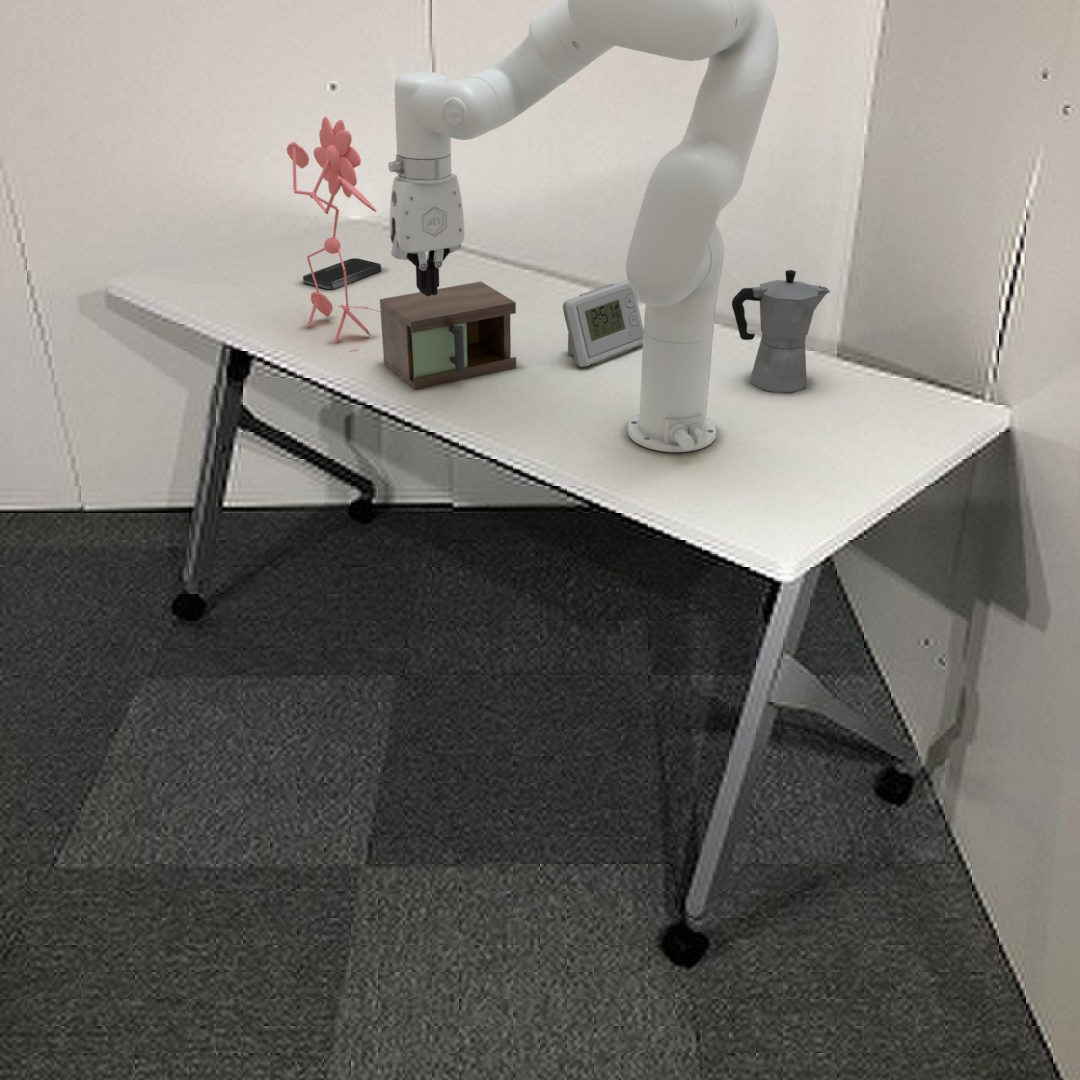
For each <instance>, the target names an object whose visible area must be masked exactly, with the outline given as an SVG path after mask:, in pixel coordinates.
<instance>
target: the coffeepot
mask: <svg viewBox="0 0 1080 1080" xmlns="http://www.w3.org/2000/svg"><path fill="white" fill-rule="evenodd" d="M796 273H797V271H796V270H793V269H788V270H785V279H776V280H772V281H767V282H763V283H760V284H759V286H753V287H744V288H741V289H740V290H739V291H738V292H737V294H735V296H734V297H733V298H732V299H731V308H732V311H733V315H734V319H735V322H736V326H737V330H738V333H739V337H740V339H741V340H743V341H751V340H754V338H755V337H756V334H755V333H749V332H748V322H747V319H746V314H745V313H746V311H745V307H744V302H746V301H753V302H759V316H760V333H761V338H760V340H759V341H760V342H759V345H758V348H757V353H756V356H755V360H754V364H753V367H752V368H753V369H752V370H751V377H750V383H751V384H752V385H753V386H754V387H756V388H758V389H760V390H763V391H767V392H771V393H772V392H773V393H779V394H780V393H781V394H782V393H785V394H788V393H794V392H798V391H800V390H803V389H805V388H807V359H806V358H807V355H806V337H807V336H808V335H809V331H810V327H811V324H812V320H813V316H814V312H815V310H816V309H817V307H818V306H819V305H820V303H821V302H822V301H823V299H824V298H825V297H826V295H827V294H830V293H831V290H830V289H828V288H827V287H826V286H822V285H815V284H810V283H806V282H804V281H802V280H801V281H800V280H795V277H796Z"/></svg>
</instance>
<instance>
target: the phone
mask: <svg viewBox="0 0 1080 1080" xmlns="http://www.w3.org/2000/svg"><path fill="white" fill-rule="evenodd" d="M343 263H344V266H345V270H346V280H347V285H349V284H350V283H353V282H356V281H358V280H361V279H364V278H366V277H370V276H372V275H375V274H377V273H380V272H382V264H381V263H378V262H374V261H369V260H367V259H363V258H358V257H353V258H349V259H346V260H343ZM313 273H314V276H315V279H316V283H317V286H318V288H321V289H324V290H334V289H335V290H336V289H338V288H340V287H344V286H345V283H344V270H343V267H342V263H341V262H338V263H335V264H332V265H330V266H327V267H324V268H321V269H318V270H315V271H313ZM302 281H303V284H306V285H310V286H312V287H313V286H314V287H315V283H314V280H313V277H312V273H311V272H310V273H307V274H304V275H303V276H302Z"/></svg>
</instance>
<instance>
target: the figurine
mask: <svg viewBox="0 0 1080 1080" xmlns="http://www.w3.org/2000/svg"><path fill="white" fill-rule="evenodd" d="M345 127H346V126H345V122H344V121H343V119H339V120H338V121H336V122H335V124H334V126H332V124H331V122H330V119H329V118H328V116H324V117H323V118H322V120H321V128H320V130H319V133H318V137H319V143H320V146H317V147H315V148H314V149H313V157H314V159H315V161H316V163H317V164H318V165H319V166H320V168H322V170H321V173H320V175H319V177H318V179H317V182H316V183H315V186H314V188H313V190H312V191H305V190H299V189H298V188H297V187H298V185H297V167H299V168H300V169H304V168H306V167H307V166H308V165H309V163H310V157H309V154H308V153H307V151H306V150H305V149H304V148H303V147H302V146H300V145H299V144H297V142H296V141H292V142H290V143H288V145H287V147H286V154H287V155H288V157H289V158H290V160H291V161H292V187H293V188H292V189H293V193H294V194H296V195H297V194H298V195H305V196H309V197H310V198H311V199H313V200H314V201H315V203H317V205H318V206H319V207H320V208H321V210H322V211H323V212H324V213H325V214H326V215H328V214H329V212H330V210H331V209H333V210H335V214H334V222H333V223H334V224H333V234H332V235H333V236H331V237H328V238H326V240H325V241H324V243H323V248H321V249H319V250H317V251H314V252H312V253H310V254H308V255H307V256H306V258H307V264H308V265H309V269H310V273H312V277H313V280H314V283H315V286H314V287H315V290H316V291H313V292H311V295H310V301H311V304H312V308H311V309H312V310H311V312H310V315H309V318H308V322H307V325H306V327H307V328H311V325H312V322H313V319H314V316H315V312H316V310H317V311H319V312H320V313H321V314H322V315H324V316H325V317H326V318H329V317H330V316H331V314H332V312H333V304H332V302H331V301H330V300H329V298H328V297H327V296H326V295H325V294H323V293H322V292H320V290H319V287H318V286H317V283H316V279H315V276H314V273H313V272H314V270H313V269H314V268H313V266H312V263H311V257H313V256H315V255H318V254H319V253H322V252H323V251H324V252H325V251H326V252H327V253H328V254H331V255H335V254H338V257H339V260H340V263H342V267H343V270H344V283H345V285H344V294H345V305H343V304H341V305H338V308H341V309H342V310H343V313H342V316H341V319H340V322H339V324H338V328H337V331H336V334H335V337H334V340H333V342H334V343H338V341H339V338H340V335H341V333H342V329H343V326H344V324H345V320H346V318H347V317H346V316H349V318H350V319H351V320H352V321H353V322H354V323H355V324H356V325H357V326H358V327H359V328H360V329H362V331H363V332H365V333H366V334H367V335H368V336H369V337H371V336H372V334H371V333H370V332H369V330H368V328H367V327H365V325H364V324H363V323H362V322H361V320H359V318H358V317H356V316H355V314H354V313H353V312H352V311H350V310H351V308H352V306H349V296H348V284H347V280H346V270H345V266H344V263H343V261H344V260H343V257H342V253H341V241H340V240H339V239H338V238H337V237H336V234H337V228H338V220H339V216H340V215H339V213H340V209H339V208H338V206H336V205H334V204H333V201H334V200H335V196H336V195H337V194H338V192H340V190H341V189H342V192H343V194H344V196H345V197H346V198H348V199H349V198H351V196H352V195H353V196H354V197H355V198H356V199H357V200H358V201H360V202H361V203H362V204H363V205H365V206H366V207H367V208H369V209H370V210H371V211H373V212H374V213H376V212H377V209H376V208H375V207H374V205H373V204H372V203H371V202H370V201H369V200H368V198H367V197H365V196H364V194H362V192H361V191H359V189H357V188H356V186H357V184H358V183H357V181H358V178H357V174H356V170H355V168H358V167H359V166H360V165H361V162H362V158H361V156H360V154H359V153H358V151H357V150H356V149H355V147H353V146H351V145H352V140H353V137H352V134H351V132H350V131H349V130H346V128H345ZM323 179H324V180H325V181H327V184H328V191H329V192H328V193H330V195H331V196H330V198H329V200H328V201H327V200H325V199H323V198H321V197H319V196H318V195H317V192H318V190H319V187H320V185H321V183H322V181H323ZM322 203H323V204H325V205H326V207H325V205H323V204H322ZM353 308H355V309H356V308H357V309H364V310H370V311H375V312H378V313H381V310H378V309H373V308H369V307H368V306H365V307H363V306H361V305H360V306H353ZM357 351H359V349H354V350H353V349H352V350H349V351H348V352H349V353H350V352H357Z"/></svg>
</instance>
